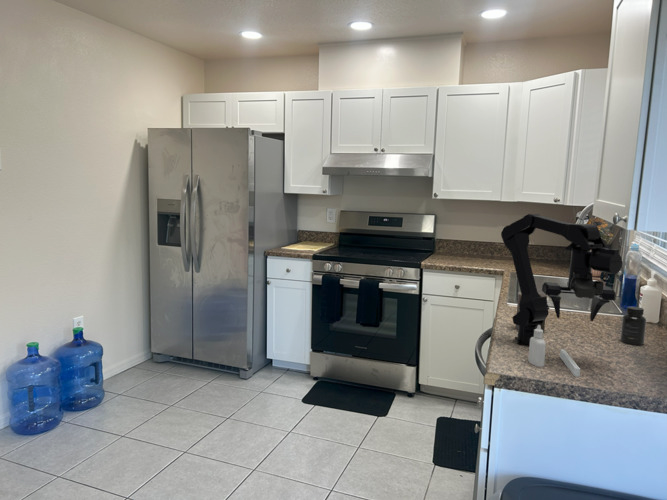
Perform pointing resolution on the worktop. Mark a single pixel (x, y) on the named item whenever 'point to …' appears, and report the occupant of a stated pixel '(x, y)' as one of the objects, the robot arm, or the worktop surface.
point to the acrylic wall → (570, 363)
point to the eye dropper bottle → (537, 348)
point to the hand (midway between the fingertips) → (574, 319)
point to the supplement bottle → (633, 326)
